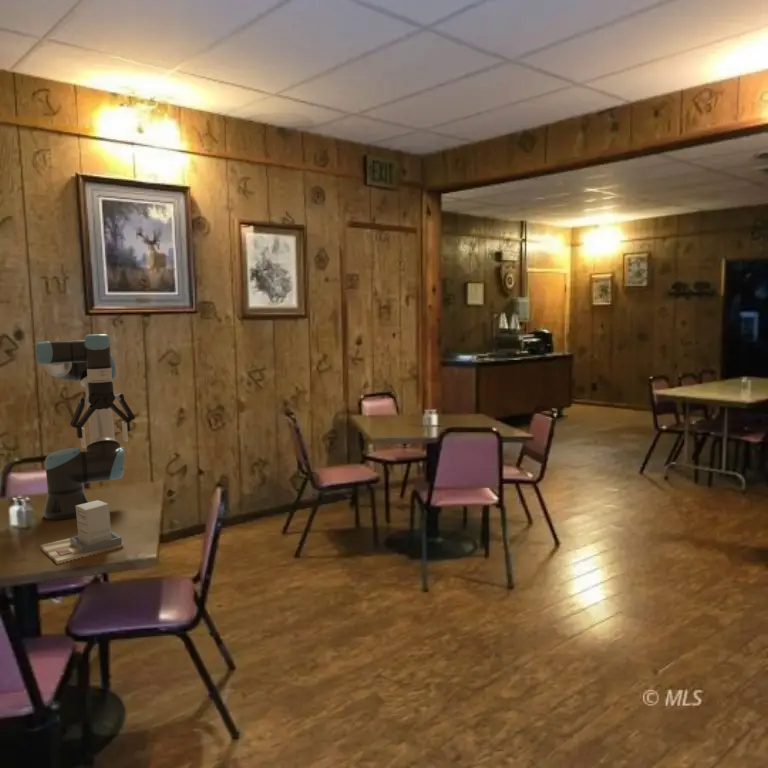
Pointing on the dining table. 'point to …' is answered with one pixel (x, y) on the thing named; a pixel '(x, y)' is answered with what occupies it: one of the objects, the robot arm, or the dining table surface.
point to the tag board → (69, 551)
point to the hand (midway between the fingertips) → (105, 444)
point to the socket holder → (96, 546)
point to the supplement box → (93, 522)
